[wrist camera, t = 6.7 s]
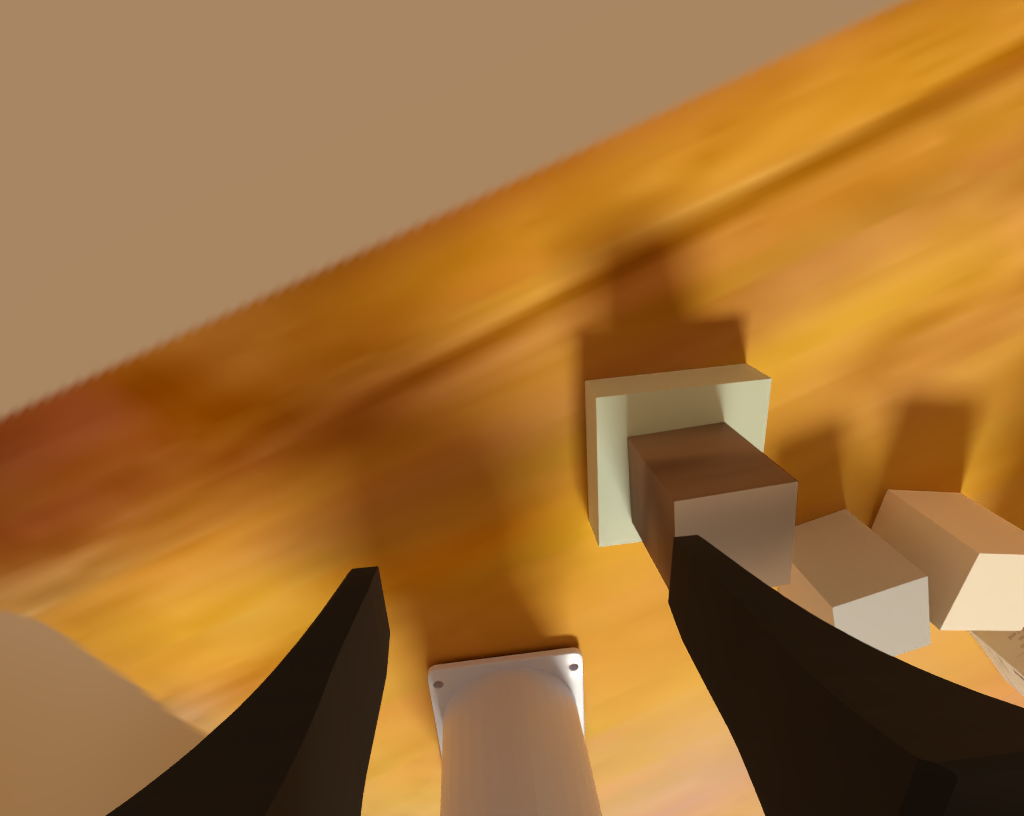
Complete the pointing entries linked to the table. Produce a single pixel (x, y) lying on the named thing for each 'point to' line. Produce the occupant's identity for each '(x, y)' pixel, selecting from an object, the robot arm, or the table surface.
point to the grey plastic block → (859, 584)
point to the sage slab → (660, 427)
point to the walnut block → (713, 498)
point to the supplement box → (1005, 654)
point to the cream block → (959, 557)
